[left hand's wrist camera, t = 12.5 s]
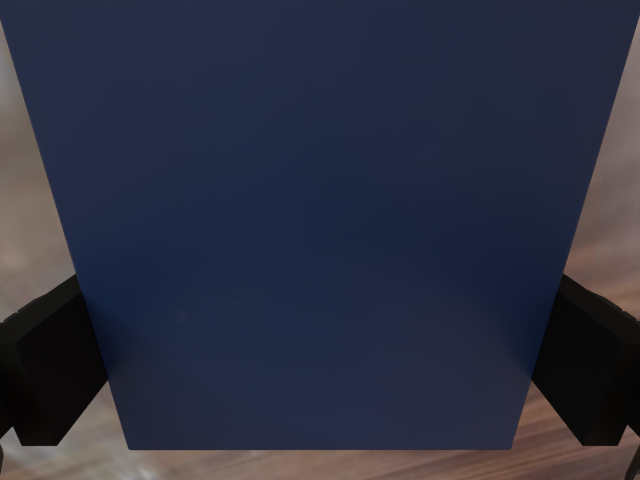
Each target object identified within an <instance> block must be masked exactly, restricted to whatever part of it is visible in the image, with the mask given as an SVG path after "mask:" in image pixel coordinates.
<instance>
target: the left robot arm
mask: <svg viewBox="0 0 640 480" xmlns="http://www.w3.org/2000/svg"><path fill="white" fill-rule="evenodd" d="M107 380H108V379H107V375H106V372H105V369H104V365H103V362H102V359H101V355H100V352H99V349H98V345H97V342H96V339H95V335H94V332H93V328H92V325H91V322H90V318H89V315H88V312H87V308H86V305H85V302H84V298H83V295H82V292H81V288H80V285H79V282H78V278H77V275H76V274H75V275H73V276H72V277H70V278H69V279H67V280H66V281H64V282H63V283H61V284H60V285H59V286H57V287H56V288H54V289H53V290H51V291H50V292H48V293H47V294H45V295H43V296H41V297H38V298H36V299H34V300H33V301H31V302H30V303H28V304H27V305H25V306H24V307H22V308H21V309H19V310H18V313H13V314H12V315H10V316H9V317H8V318H6V319H5V320H4V322H3V323H0V439H1V438H2V437H3V436H4V435H5V434H6V433H7V431H8V430H9V429H10V428H11V427H12V426H13V428H14V430H15V432H16V434H17V436H18V439H19V441H20V443H21V445H22V446H57V445H58V444H59V443H60V441H61V440H62V439H63V437H64V436H65V435H66V433H67V432H68V431H69V430H70V428H71V427H72V426H73V424H74V423H75V422H76V421H77V419H78V418H79V417H80V415H81V414H82V413H83V411H84V410H85V409H86V408H87V406H88V405H89V404H90V402H91V401H92V400H93V399H94V397H95V396H96V395H97V393H98V392H99V391H100V390H101V388H102V387H103V386H104V384H105V383H106V382H107ZM531 380H532V381H533V382H534V384H535V385H536V386H537V387H538V389H539V390H540V391H541V393H542V394H543V395H544V397H545V398H546V399H547V400H548V402H549V403H550V404H551V406H552V407H553V408H554V409H555V411H556V412H557V413H558V415H559V416H560V417H561V419H562V420H563V421H564V422H565V424H566V425H567V426H568V428H569V429H570V430H571V431H572V433H573V434H574V435H575V437H576V438H577V439H578V440H579V442H580V443H581V444H582V446H618V444H619V442H620V439H621V437H622V435H623V433H624V431H625V429H626V426H627V425H628V426H629V427H630V428H631V429H632V430H633V431H634V432H635V433H636V434H637V435H638V436H639V437H640V321H636V318H635V317H633V316H632V315H630V314H629V313H627V312H626V311H622V309H621V308H620V307H618V306H617V305H615V304H614V303H612V302H611V301H609V300H608V299H606V298H605V297H602V296H600V295H598V294H596V293H593V292H591V291H589V290H587V289H585V288H584V287H582V286H581V285H580V284H578V283H577V282H575V281H574V280H572V279H571V278H569V277H568V276H566V275H565V274H563V275H562V278H561V282H560V285H559V288H558V292H557V295H556V298H555V302H554V305H553V309H552V312H551V315H550V319H549V322H548V325H547V329H546V332H545V335H544V339H543V342H542V346H541V349H540V352H539V356H538V359H537V362H536V366H535V369H534V372H533V376H532V379H531ZM3 457H4V455H3V449H2V447H1V445H0V473H1V468H2V462H3ZM638 474H640V445H639V447H638V449H637V451H636V453H635V455H634V457H633V459H632V461H631V463H630V465H629V467H628V469H627V471H626V474H625V480H633V479H634V477H635V475H638Z"/></svg>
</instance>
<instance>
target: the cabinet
mask: <svg viewBox="0 0 640 480" xmlns="http://www.w3.org/2000/svg"><path fill="white" fill-rule="evenodd" d="M639 16H640V0H0V20H1V23H2V27H3V30H4V33H5V37H6V40H7V43H8V47H9V50H10V53H11V57H12V60H13V64H14V67H15V70H16V74H17V77H18V80H19V84H20V87H21V90H22V94H23V97H24V100H25V104H26V107H27V110H28V114H29V117H30V121H31V124H32V127H33V131H34V134H35V137H36V141H37V144H38V147H39V151H40V154H41V157H42V161H43V164H44V168H45V171H46V174H47V178H48V181H49V184H50V188H51V191H52V194H53V198H54V201H55V204H56V208H57V211H58V214H59V218H60V221H61V225H62V228H63V231H64V235H65V238H66V241H67V245H68V248H69V251H70V255H71V258H72V261H73V265H74V268H75V271H76V275H77V278H78V282H79V285H80V288H81V292H82V295H83V298H84V302H85V305H86V308H87V312H88V315H89V318H90V322H91V325H92V328H93V332H94V335H95V339H96V342H97V345H98V349H99V352H100V355H101V359H102V362H103V365H104V369H105V372H106V375H107V379H108V382H109V386H110V389H111V392H112V396H113V399H114V402H115V406H116V409H117V412H118V416H119V419H120V422H121V426H122V429H123V432H124V436H125V439H126V443H127V446H128V449H129V450H509V449H511V446H512V443H513V440H514V436H515V433H516V430H517V426H518V423H519V420H520V416H521V413H522V409H523V406H524V403H525V399H526V396H527V393H528V389H529V386H530V383H531V379H532V376H533V372H534V369H535V366H536V362H537V359H538V356H539V352H540V349H541V346H542V342H543V339H544V335H545V332H546V329H547V325H548V322H549V319H550V315H551V312H552V309H553V305H554V302H555V298H556V295H557V292H558V288H559V285H560V282H561V278H562V275H563V272H564V268H565V265H566V261H567V258H568V255H569V251H570V248H571V245H572V241H573V238H574V235H575V231H576V228H577V224H578V221H579V218H580V214H581V211H582V208H583V204H584V201H585V198H586V194H587V191H588V187H589V184H590V181H591V177H592V174H593V171H594V167H595V164H596V161H597V157H598V154H599V150H600V147H601V144H602V140H603V137H604V134H605V130H606V127H607V124H608V120H609V117H610V113H611V110H612V107H613V103H614V100H615V97H616V93H617V90H618V87H619V83H620V80H621V76H622V73H623V70H624V66H625V63H626V60H627V56H628V53H629V50H630V46H631V43H632V39H633V36H634V33H635V29H636V26H637V23H638V19H639Z"/></svg>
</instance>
